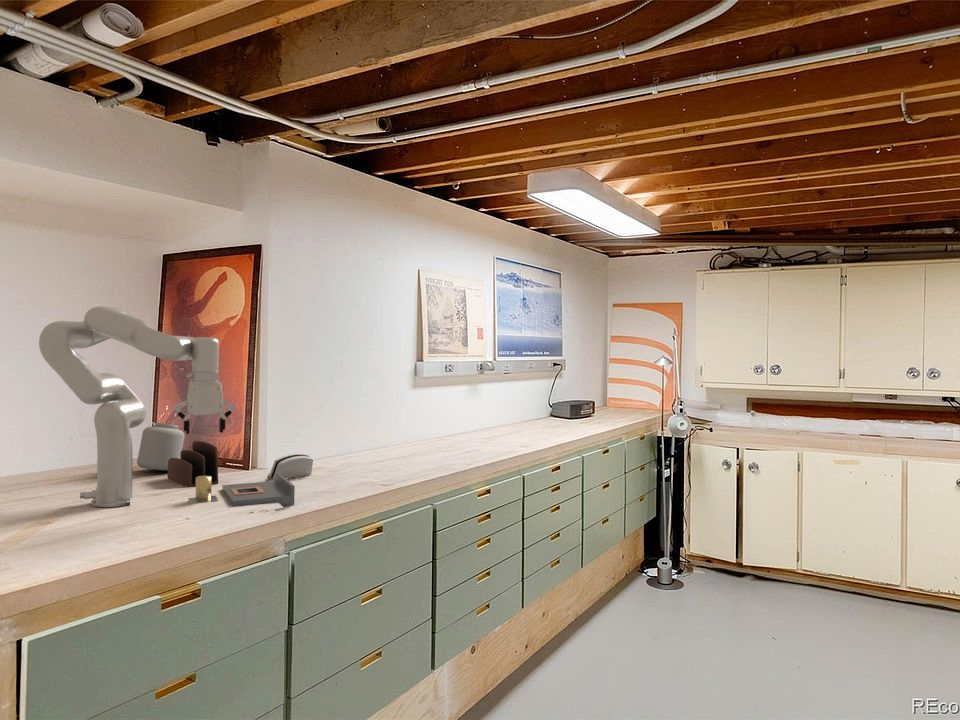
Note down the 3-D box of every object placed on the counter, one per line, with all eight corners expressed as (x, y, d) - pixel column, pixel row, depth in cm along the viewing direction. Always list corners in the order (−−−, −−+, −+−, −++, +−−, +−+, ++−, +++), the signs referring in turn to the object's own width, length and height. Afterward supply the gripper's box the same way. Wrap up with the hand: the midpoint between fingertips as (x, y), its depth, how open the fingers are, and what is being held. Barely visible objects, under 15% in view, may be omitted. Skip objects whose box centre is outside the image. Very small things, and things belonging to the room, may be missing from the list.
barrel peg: (196, 501, 199) (196, 479, 199) (194, 498, 203) (195, 476, 203) (212, 500, 201) (212, 477, 201) (210, 497, 205) (210, 475, 205)
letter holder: (194, 475, 245) (194, 438, 245) (218, 484, 231) (219, 444, 231) (167, 479, 238) (167, 441, 237) (190, 488, 224) (190, 447, 224)
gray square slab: (190, 508, 197) (190, 503, 196) (188, 502, 204) (188, 498, 203) (218, 506, 200) (218, 501, 200) (215, 500, 207) (215, 495, 207)
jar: (169, 465, 264) (170, 403, 263) (196, 468, 258) (197, 405, 258) (127, 473, 247) (128, 407, 246) (156, 477, 241) (156, 409, 240)
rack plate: (233, 511, 195) (233, 491, 195) (222, 494, 216) (222, 476, 216) (294, 504, 204) (294, 485, 203) (278, 489, 225) (278, 471, 224)
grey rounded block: (303, 472, 254) (309, 449, 252) (310, 478, 252) (316, 455, 249) (266, 478, 241) (271, 454, 239) (273, 485, 239) (278, 460, 236)
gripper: (175, 378, 194) (174, 435, 194) (236, 378, 202) (236, 433, 203) (173, 376, 200) (172, 432, 201) (233, 376, 209) (232, 430, 209)
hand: (204, 432), depth 202 cm, fingers open, 9 cm apart
